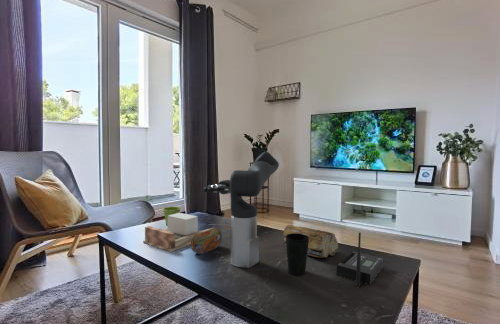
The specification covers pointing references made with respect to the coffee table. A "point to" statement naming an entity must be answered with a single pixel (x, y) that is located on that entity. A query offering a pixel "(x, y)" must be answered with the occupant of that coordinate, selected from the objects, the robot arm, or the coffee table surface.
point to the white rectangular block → (183, 223)
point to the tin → (206, 240)
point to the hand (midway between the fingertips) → (206, 190)
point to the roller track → (178, 242)
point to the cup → (297, 253)
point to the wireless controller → (360, 266)
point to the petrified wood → (315, 240)
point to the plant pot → (170, 212)
